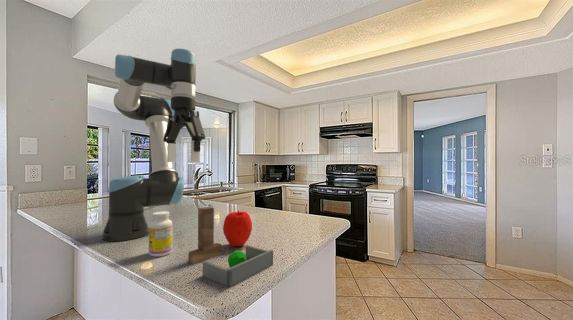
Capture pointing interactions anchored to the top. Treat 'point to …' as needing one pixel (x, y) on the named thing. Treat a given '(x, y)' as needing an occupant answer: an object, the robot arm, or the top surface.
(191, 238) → the top surface
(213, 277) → the tray
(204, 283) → the top surface
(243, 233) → the apple
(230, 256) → the polyhedron
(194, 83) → the robot arm
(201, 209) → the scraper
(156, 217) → the supplement bottle
